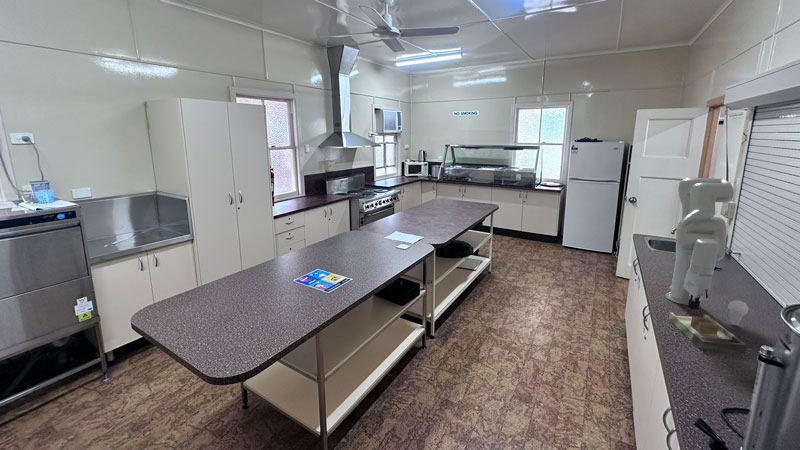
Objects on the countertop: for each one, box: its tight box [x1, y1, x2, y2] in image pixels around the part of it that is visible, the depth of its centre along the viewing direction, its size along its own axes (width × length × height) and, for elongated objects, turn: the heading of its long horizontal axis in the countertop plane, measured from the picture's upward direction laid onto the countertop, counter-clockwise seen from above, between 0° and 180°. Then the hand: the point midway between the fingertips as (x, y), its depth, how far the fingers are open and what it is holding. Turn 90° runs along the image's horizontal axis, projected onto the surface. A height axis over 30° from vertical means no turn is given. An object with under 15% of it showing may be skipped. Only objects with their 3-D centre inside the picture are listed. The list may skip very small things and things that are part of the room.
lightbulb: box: [727, 300, 749, 326], centre depth 146 cm, size 6×6×11 cm
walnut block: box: [691, 316, 719, 335], centre depth 140 cm, size 6×6×4 cm
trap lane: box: [668, 312, 748, 354], centre depth 140 cm, size 23×14×4 cm, turn 169°
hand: (693, 308), depth 148 cm, fingers closed
